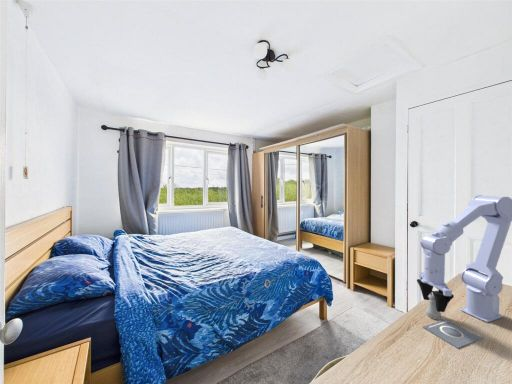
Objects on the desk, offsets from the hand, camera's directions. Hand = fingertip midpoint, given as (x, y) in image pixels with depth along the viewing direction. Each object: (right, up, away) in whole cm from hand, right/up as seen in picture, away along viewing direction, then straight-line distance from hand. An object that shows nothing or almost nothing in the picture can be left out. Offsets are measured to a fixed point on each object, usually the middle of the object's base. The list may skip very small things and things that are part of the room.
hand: (433, 305), depth 80 cm
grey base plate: (-1, -5, -9) cm, 10 cm away
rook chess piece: (0, -4, 0) cm, 4 cm away
